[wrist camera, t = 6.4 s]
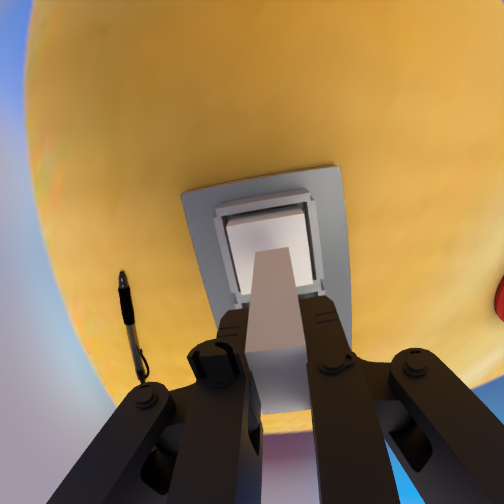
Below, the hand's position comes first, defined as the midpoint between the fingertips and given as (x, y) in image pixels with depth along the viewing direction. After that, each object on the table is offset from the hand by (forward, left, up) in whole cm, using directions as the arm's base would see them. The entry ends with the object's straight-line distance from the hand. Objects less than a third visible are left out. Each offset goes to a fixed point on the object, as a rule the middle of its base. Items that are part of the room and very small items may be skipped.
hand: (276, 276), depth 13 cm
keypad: (+7, 0, -9) cm, 11 cm away
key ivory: (+1, 0, -6) cm, 6 cm away
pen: (+8, -15, -9) cm, 19 cm away
